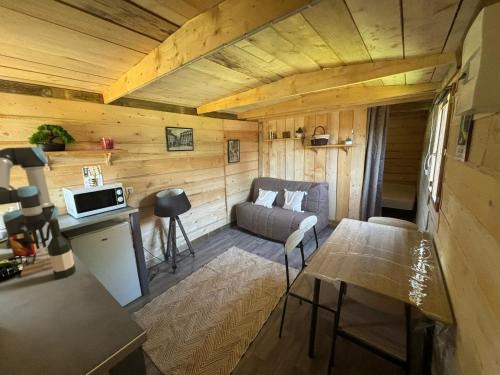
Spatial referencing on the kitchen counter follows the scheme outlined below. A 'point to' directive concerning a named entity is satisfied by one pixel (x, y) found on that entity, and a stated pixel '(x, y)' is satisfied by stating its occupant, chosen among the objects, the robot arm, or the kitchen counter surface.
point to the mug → (22, 245)
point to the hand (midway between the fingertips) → (43, 253)
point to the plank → (42, 256)
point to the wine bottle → (60, 252)
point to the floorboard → (36, 268)
